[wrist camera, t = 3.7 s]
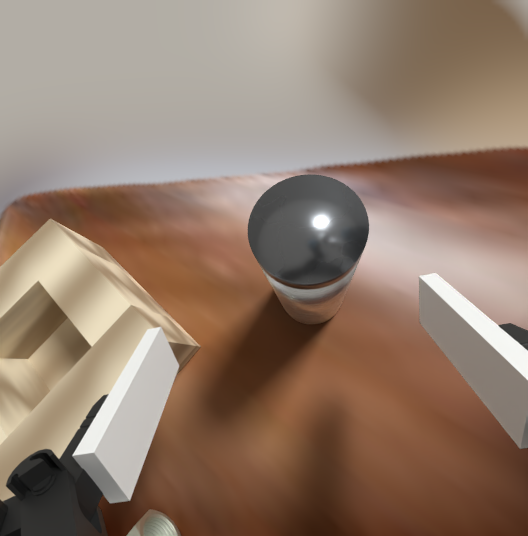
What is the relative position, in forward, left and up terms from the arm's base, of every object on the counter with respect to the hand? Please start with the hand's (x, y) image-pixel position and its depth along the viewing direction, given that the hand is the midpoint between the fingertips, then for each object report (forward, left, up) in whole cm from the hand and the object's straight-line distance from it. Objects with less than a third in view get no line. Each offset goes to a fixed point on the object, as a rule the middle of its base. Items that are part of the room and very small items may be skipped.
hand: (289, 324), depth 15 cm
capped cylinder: (+2, -3, -8) cm, 9 cm away
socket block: (+13, +13, -8) cm, 19 cm away
